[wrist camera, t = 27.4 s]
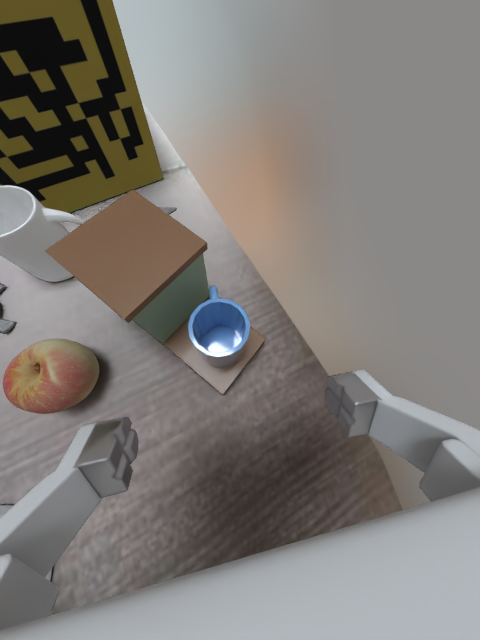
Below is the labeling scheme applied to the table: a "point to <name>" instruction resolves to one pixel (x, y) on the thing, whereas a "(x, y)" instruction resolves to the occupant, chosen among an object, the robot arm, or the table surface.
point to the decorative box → (70, 105)
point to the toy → (3, 324)
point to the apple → (50, 376)
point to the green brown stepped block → (148, 276)
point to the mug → (31, 233)
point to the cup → (219, 330)
